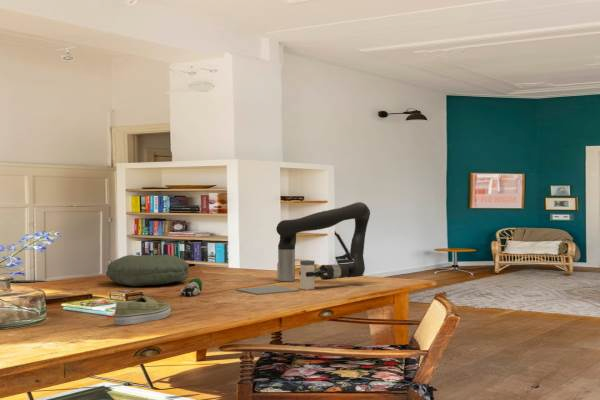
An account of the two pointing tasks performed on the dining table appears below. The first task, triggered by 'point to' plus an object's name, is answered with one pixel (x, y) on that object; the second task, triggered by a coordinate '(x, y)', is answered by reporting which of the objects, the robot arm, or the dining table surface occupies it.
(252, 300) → the dining table surface
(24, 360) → the dining table surface
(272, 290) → the slate mat
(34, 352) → the dining table surface
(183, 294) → the toy
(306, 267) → the cream block
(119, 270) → the pillow
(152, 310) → the boat shoe
